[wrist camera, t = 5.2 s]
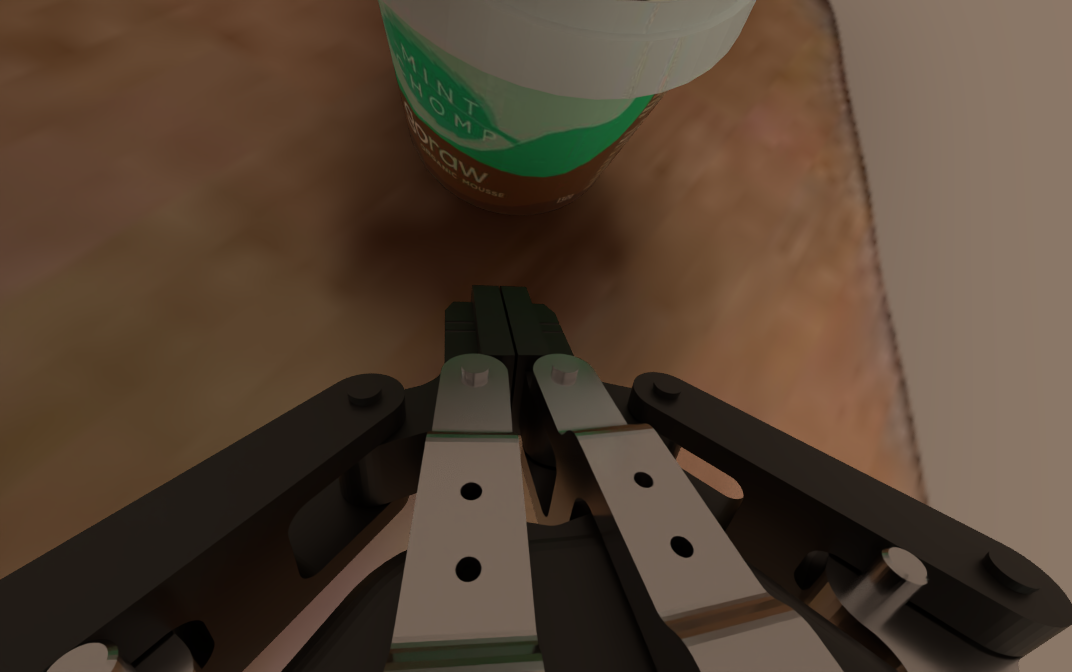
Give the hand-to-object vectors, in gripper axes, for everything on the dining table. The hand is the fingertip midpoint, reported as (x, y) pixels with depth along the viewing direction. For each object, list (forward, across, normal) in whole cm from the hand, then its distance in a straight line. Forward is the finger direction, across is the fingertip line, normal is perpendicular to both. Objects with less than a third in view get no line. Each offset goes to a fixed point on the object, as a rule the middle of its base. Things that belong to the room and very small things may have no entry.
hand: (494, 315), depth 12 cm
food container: (+9, 0, -2) cm, 10 cm away
